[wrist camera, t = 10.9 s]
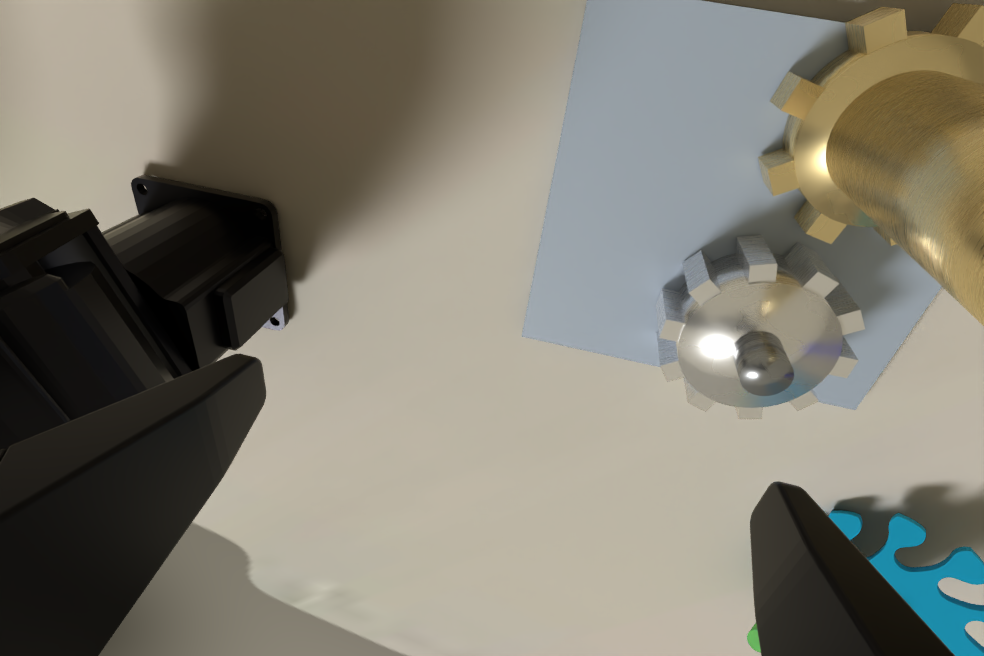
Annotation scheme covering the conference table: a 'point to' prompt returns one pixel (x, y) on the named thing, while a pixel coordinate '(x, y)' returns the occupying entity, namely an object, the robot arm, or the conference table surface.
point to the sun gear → (756, 328)
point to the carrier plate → (692, 180)
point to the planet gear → (894, 143)
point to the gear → (921, 582)
